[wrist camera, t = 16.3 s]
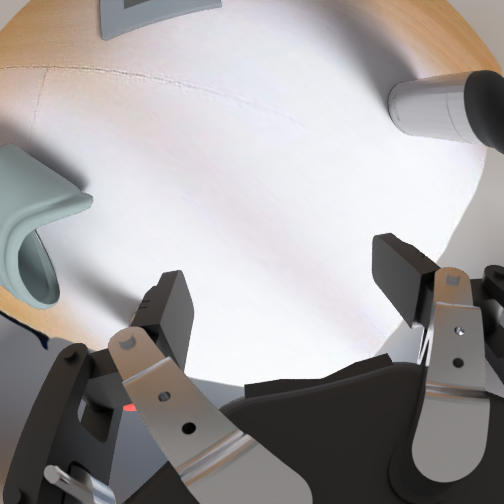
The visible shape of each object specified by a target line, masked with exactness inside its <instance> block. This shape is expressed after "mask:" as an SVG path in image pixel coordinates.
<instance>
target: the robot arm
mask: <svg viewBox="0 0 504 504" xmlns="http://www.w3.org/2000/svg"><path fill="white" fill-rule="evenodd" d="M388 106H389V112H390V115H391V118H392V120H393V122H394V123H395V125H396V126H397V127H398V128H399V129H400V130H401V131H402V132H403V133H405V134H407V135H411V136H419V137H428V138H437V139H445V140H452V141H459V142H465V143H471V144H477V145H483V146H488V147H492V148H495V149H496V150H497V151H499V152H500V153H502V154H504V78H503V77H502V76H501V75H500V74H498V73H496V72H494V71H489V70H482V71H472V72H463V73H456V74H448V75H441V76H435V77H429V78H424V79H418V80H413V81H408V82H403V83H399V84H397V85H396V86H395V87H394V88H393V89H392V91H391V92H390V95H389V101H388ZM372 275H373V279H374V281H375V283H376V284H377V285H378V287H379V288H380V289H381V290H382V292H383V293H384V294H385V295H386V297H387V298H388V299H389V300H390V302H391V303H392V304H393V306H394V307H395V308H396V309H397V311H398V312H399V313H400V315H401V316H402V317H403V319H404V320H405V321H406V322H407V324H408V325H409V327H410V328H411V329H413V328H416V327H419V326H422V325H423V326H424V330H423V334H422V339H421V345H420V350H419V355H418V360H417V364H416V363H408V362H392V360H391V359H390V357H389V356H388V354H387V353H386V354H383V355H379V356H377V357H373V358H369V359H366V360H362V361H359V362H355V363H353V364H351V365H349V366H347V367H345V368H343V369H341V370H339V371H337V372H335V373H333V374H331V375H329V376H327V377H325V378H321V379H279V380H273V381H267V382H261V383H254V384H246V385H244V387H245V396H242V397H239V398H237V399H235V400H232V401H230V402H229V403H227V404H225V405H223V406H222V407H221V408H219V409H217V408H216V407H215V406H214V405H213V404H212V403H211V402H210V401H209V399H208V398H207V397H206V396H205V395H204V394H203V393H202V392H201V391H200V390H199V389H198V388H197V387H196V386H195V385H194V384H193V383H192V381H191V380H190V379H189V378H188V377H187V376H186V375H185V374H184V369H185V363H186V357H187V351H188V346H189V340H190V335H191V329H192V324H193V319H194V307H193V302H192V299H191V296H190V293H189V290H188V287H187V284H186V281H185V278H184V275H183V272H182V271H181V270H177V271H171V272H165V273H163V274H162V276H161V278H160V280H159V282H158V284H157V286H153V287H152V288H151V289H150V290H149V291H148V292H147V293H146V294H145V296H144V298H143V300H142V303H141V304H140V306H139V309H138V310H137V312H136V314H135V317H134V319H133V321H132V323H131V325H130V327H128V328H125V329H123V330H120V331H119V332H117V333H116V334H115V335H114V336H113V337H112V338H111V339H110V341H109V343H108V348H107V349H104V350H100V351H97V352H94V353H90V351H89V350H88V348H87V346H86V345H85V344H83V343H75V344H72V345H69V346H68V347H66V348H65V349H63V350H62V351H61V352H60V353H59V355H58V356H57V358H56V360H55V362H54V364H53V366H52V368H51V369H50V371H49V373H48V375H47V378H46V379H45V381H44V383H43V385H42V388H41V390H40V392H39V394H38V396H37V398H36V400H35V403H34V405H33V407H32V409H31V412H30V414H29V417H28V419H27V421H26V424H25V426H24V429H23V431H22V434H21V437H20V439H19V442H18V444H17V447H16V450H15V453H14V456H13V459H12V462H11V465H10V468H9V472H8V475H7V479H6V482H5V486H4V490H3V502H4V504H116V503H115V496H114V494H113V492H112V490H111V489H110V488H109V487H108V485H109V478H110V472H111V466H112V460H113V454H114V449H115V443H116V439H117V433H118V429H119V424H120V420H121V415H122V410H123V406H126V405H130V404H134V406H135V408H136V410H137V411H138V413H139V415H140V417H141V418H142V420H143V422H144V423H145V425H146V427H147V428H148V430H149V431H150V433H151V435H152V436H153V438H154V439H155V441H156V442H157V444H158V445H159V447H160V448H161V450H162V451H163V453H164V454H165V456H166V457H167V459H168V461H167V462H166V463H165V464H164V465H163V466H162V467H161V468H160V469H159V470H158V471H157V472H156V473H155V474H154V475H153V476H152V477H151V478H150V479H149V480H148V481H147V482H146V483H144V484H143V485H142V486H141V487H140V488H139V489H138V490H137V491H136V492H135V493H134V494H133V495H131V496H130V498H128V499H127V500H126V501H125V502H124V503H122V504H504V398H503V397H500V396H498V395H495V394H492V393H489V392H487V391H485V358H486V359H487V361H488V362H489V364H490V365H491V367H492V368H493V369H494V371H495V372H496V374H497V375H498V377H499V378H500V380H501V381H502V383H503V384H504V328H503V327H502V326H501V325H500V321H501V318H502V315H503V313H504V267H502V266H498V265H490V266H487V267H486V268H485V270H484V274H483V278H482V279H470V278H469V276H468V275H467V274H466V273H465V272H464V271H461V270H459V269H457V268H451V267H445V268H440V267H439V266H438V265H437V264H435V263H434V262H433V261H432V260H431V259H429V258H428V257H427V256H426V257H425V255H424V254H423V253H422V252H420V251H419V250H418V249H417V248H415V247H414V246H413V245H410V244H408V243H405V242H403V241H401V240H400V239H399V238H397V237H396V236H395V235H393V234H392V233H386V234H380V235H375V236H374V237H373V242H372ZM81 399H83V400H84V401H85V402H86V407H85V410H84V413H83V416H82V419H81V422H79V420H78V415H77V411H78V407H79V405H80V402H81Z"/></svg>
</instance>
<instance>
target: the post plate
mask: <svg viewBox="0 0 504 504" xmlns="http://www.w3.org/2000/svg"><path fill="white" fill-rule="evenodd" d="M219 7H222V2H221V0H100V14H101V32H102V39H104V40H105V41H107V40H109V39H112V38H114V37H116V36H119V35H121V34H124V33H127V32H129V31H132V30H135V29H138V28H140V27H143V26H146V25H149V24H153V23H156V22H159V21H162V20H166V19H169V18H173V17H177V16H181V15H185V14H189V13H193V12H198V11H203V10H208V9H213V8H219Z"/></svg>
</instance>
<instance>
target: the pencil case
mask: <svg viewBox="0 0 504 504" xmlns="http://www.w3.org/2000/svg"><path fill="white" fill-rule="evenodd" d="M92 203H93V197H92V195H90V194H87V193H83V192H80V190H79V188H77V187H76V186H75V185H74V184H72V183H71V182H69V181H68V180H66V179H65V178H64V177H62V176H61V175H59V174H58V173H56V172H55V171H53V170H51V169H50V168H48V167H47V166H45V165H44V164H42V163H41V162H39V161H38V160H36V159H35V158H33V157H32V156H30V155H29V154H28V153H26V152H25V151H23V150H22V149H21V148H19V147H18V146H16V145H15V144H5V145H2V146H0V285H1V286H2V287H4V288H5V289H6V290H8V291H9V292H10V293H11V294H12V295H13V296H14V297H16V298H17V299H19V300H21V301H23V302H25V303H27V304H28V305H30V306H31V307H33V308H36V309H48V308H51V307H53V306H54V305H56V304H57V302H58V300H59V296H60V290H59V284H58V281H57V278H56V275H55V272H54V269H53V267H52V264H51V262H50V260H49V257H48V255H47V253H46V251H45V248H44V246H43V244H42V246H43V248H42V246H41V244H40V242H39V240H40V238H39V236H38V234H37V233H36V234H37V236H38V238H39V240H38V238H37V236H36V234H35V232H36V231H35V229H36V228H38V227H40V226H43V225H45V224H47V223H50V222H53V221H56V220H59V219H62V218H65V217H68V216H71V215H74V214H77V213H79V212H82V211H84V210H86V209H88V208H90V207H91V205H92ZM34 231H35V232H34ZM40 241H41V240H40ZM41 243H42V242H41ZM43 249H44V250H43Z"/></svg>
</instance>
